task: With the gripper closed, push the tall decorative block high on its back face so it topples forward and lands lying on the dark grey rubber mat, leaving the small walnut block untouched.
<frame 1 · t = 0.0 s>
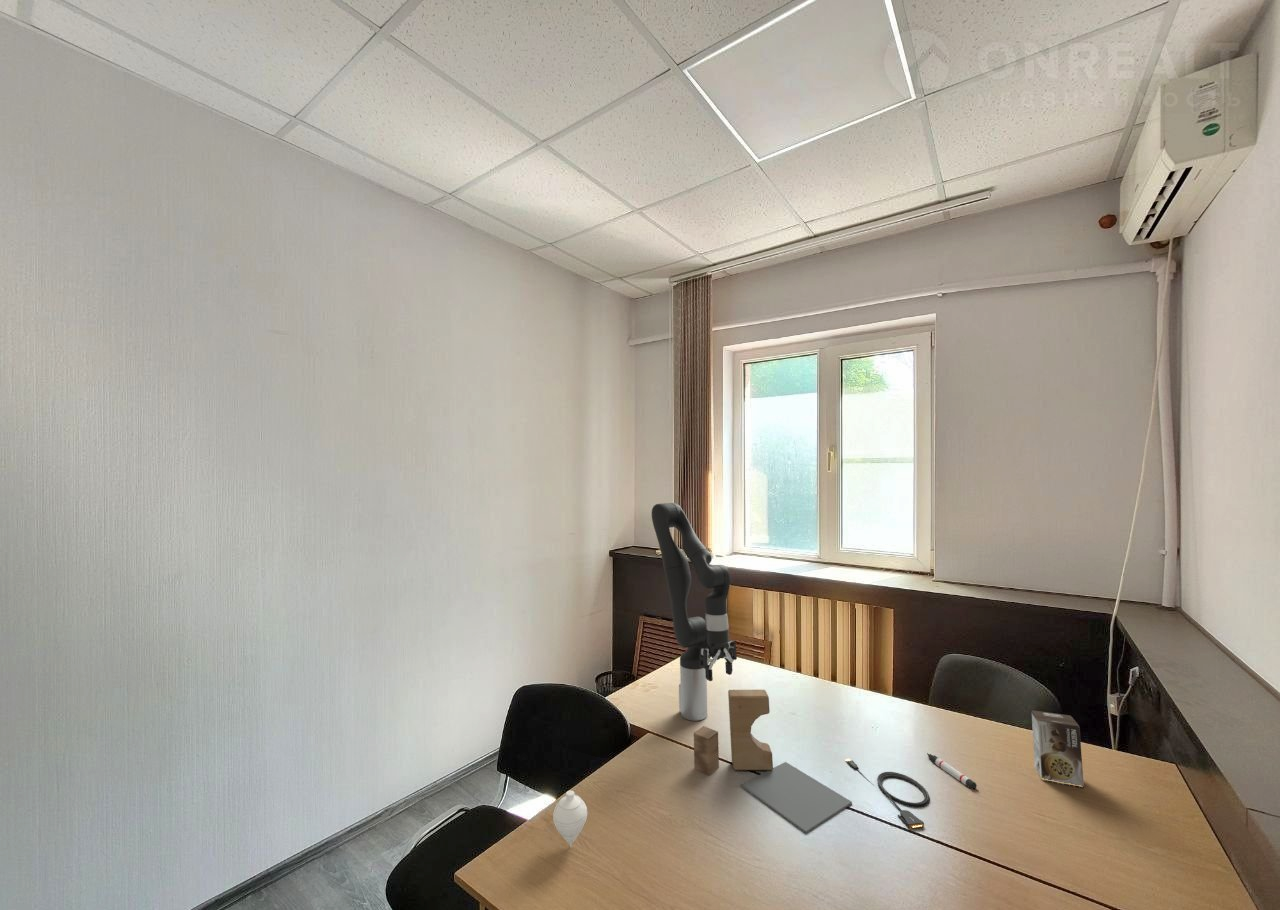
hand: (719, 677, 160), 17 cm above the table, tool pointing down, fingers open, 8 cm apart
decorative block: (752, 766, 139), on the table, touching mat
cable: (897, 792, 128), on the table
walnut block: (706, 767, 139), on the table
coffee box: (1058, 778, 132), on the table
marker: (949, 773, 136), on the table
mat: (794, 794, 127), on the table
spinning top: (570, 847, 110), on the table
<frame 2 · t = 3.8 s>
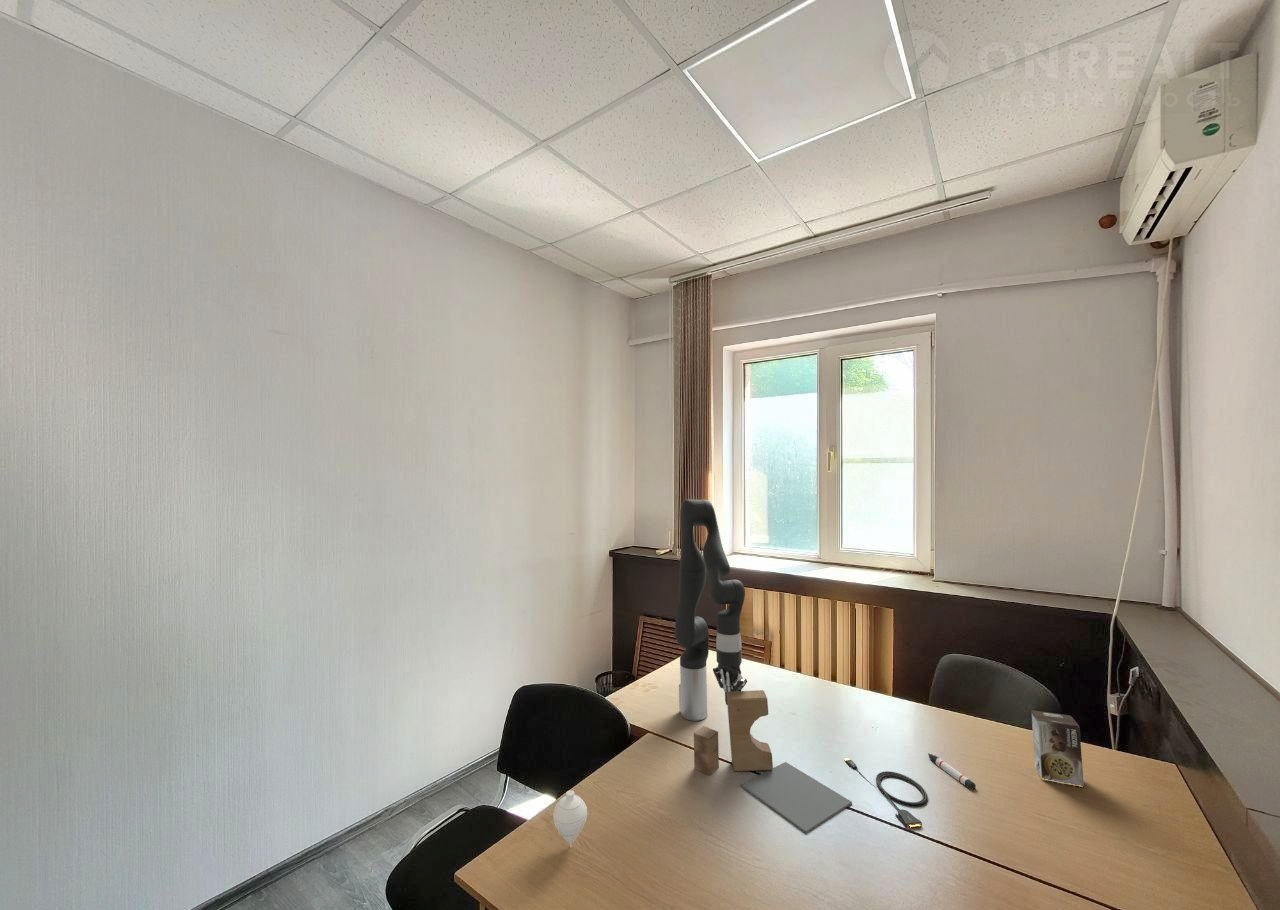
hand: (730, 704, 147), 14 cm above the table, tool pointing down, fingers closed
decorative block: (752, 766, 139), on the table, touching hand, mat
everything else where it was.
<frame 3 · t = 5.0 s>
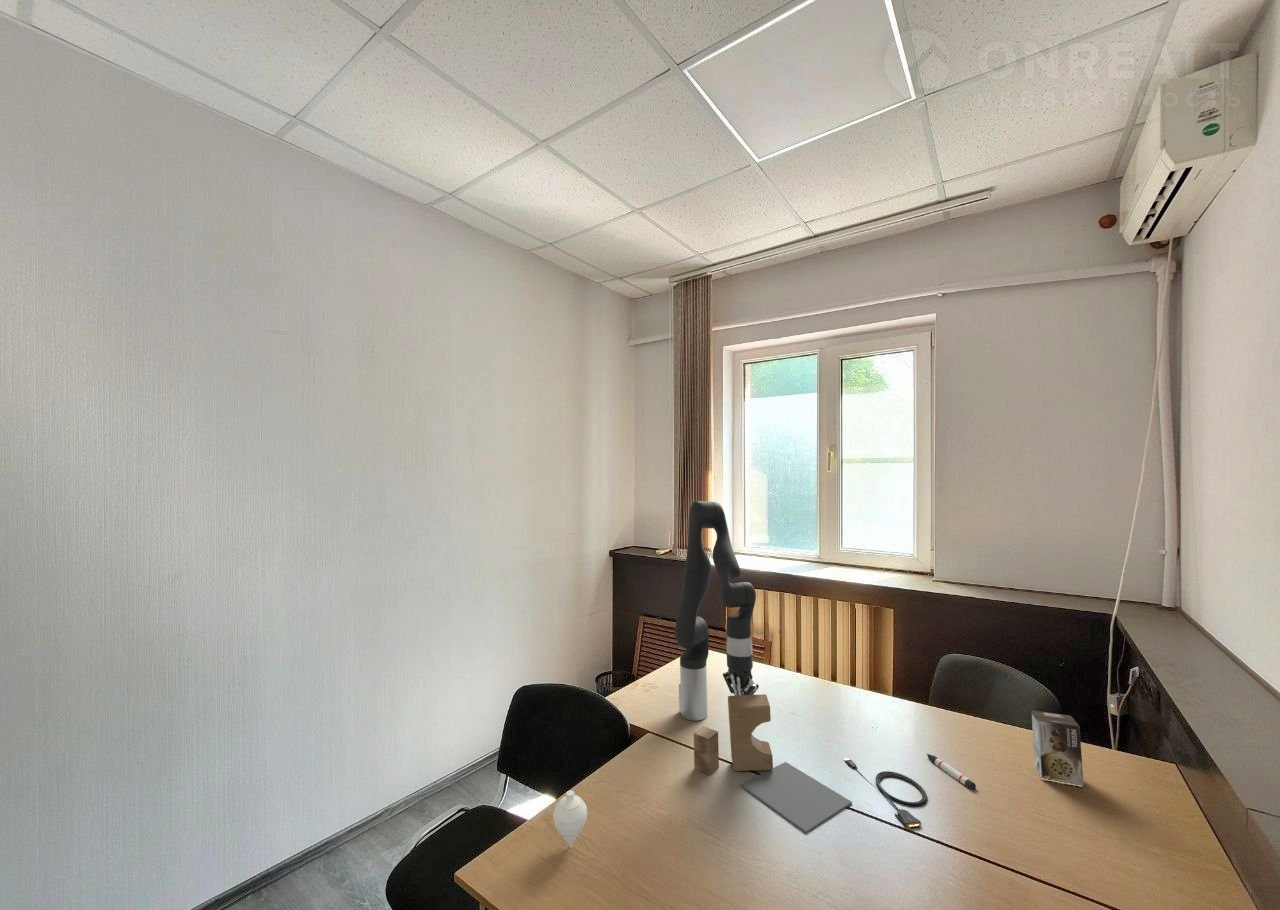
hand: (741, 710, 143), 14 cm above the table, tool pointing down, fingers closed
decorative block: (751, 764, 139), point 1 cm above the table, touching mat
everything else where it was.
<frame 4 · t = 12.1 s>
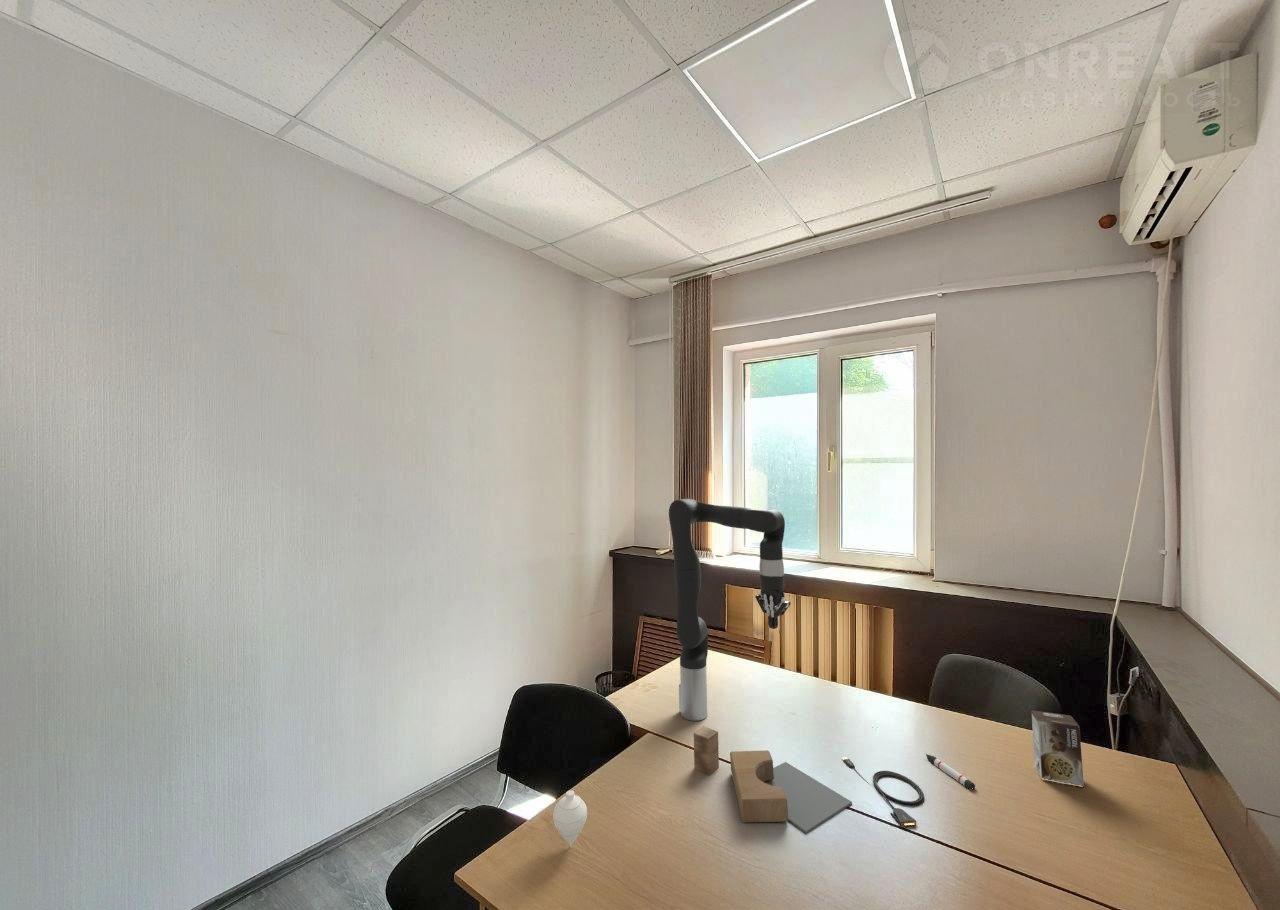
hand: (773, 628, 154), 35 cm above the table, tool pointing down, fingers closed
decorative block: (749, 759, 137), point 4 cm above the table, touching mat
at the end: decorative block tilted 92°; decorative block touching mat, table; walnut block moved 0.0 cm from its start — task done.
